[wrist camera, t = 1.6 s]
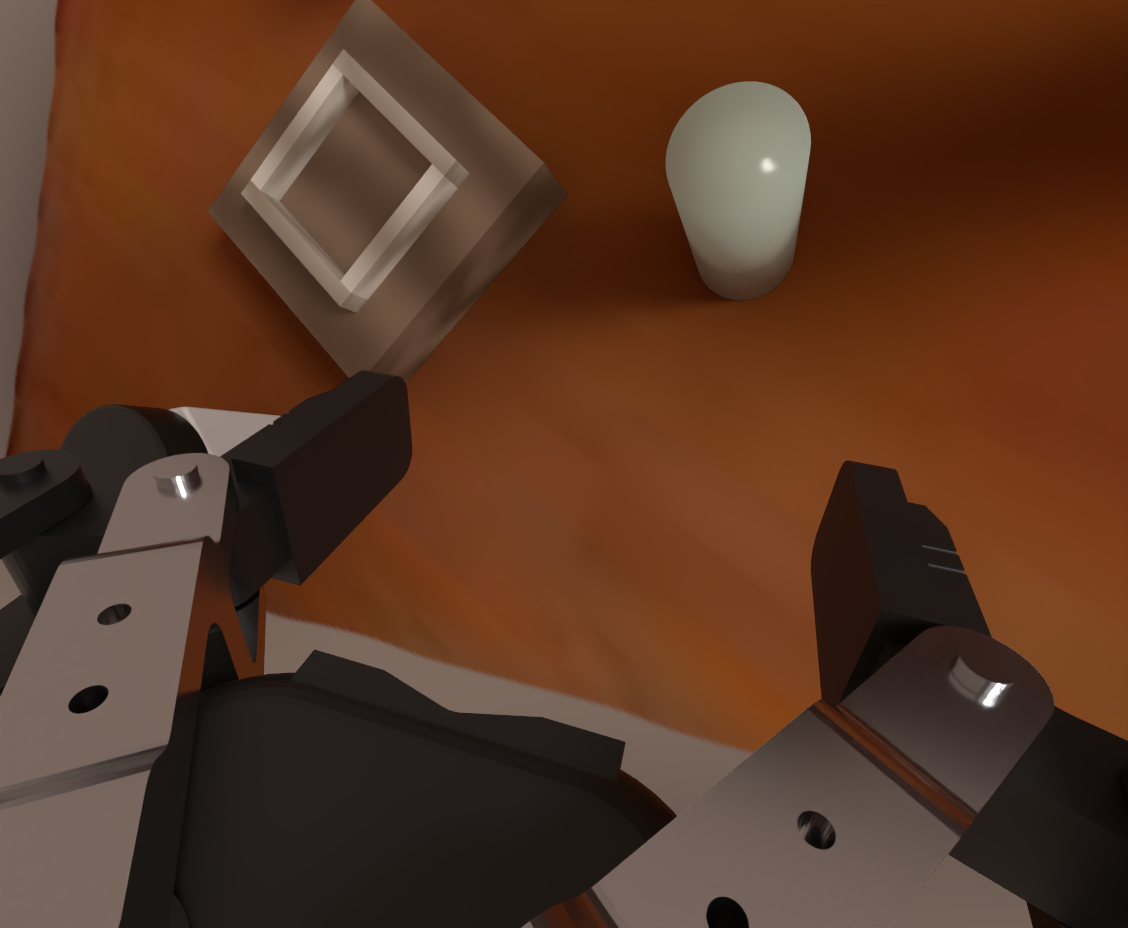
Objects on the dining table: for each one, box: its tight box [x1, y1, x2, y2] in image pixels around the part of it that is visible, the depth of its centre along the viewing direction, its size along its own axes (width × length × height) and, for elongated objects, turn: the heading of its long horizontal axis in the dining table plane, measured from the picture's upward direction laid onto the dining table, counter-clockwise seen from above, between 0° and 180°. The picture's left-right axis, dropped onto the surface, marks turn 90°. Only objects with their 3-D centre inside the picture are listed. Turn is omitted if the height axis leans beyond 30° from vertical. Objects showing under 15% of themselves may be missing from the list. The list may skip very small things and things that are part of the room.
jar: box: [60, 404, 281, 481], centre depth 36 cm, size 9×8×12 cm
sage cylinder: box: [666, 81, 811, 301], centre depth 27 cm, size 5×5×11 cm
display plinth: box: [208, 0, 567, 383], centre depth 36 cm, size 16×16×6 cm
